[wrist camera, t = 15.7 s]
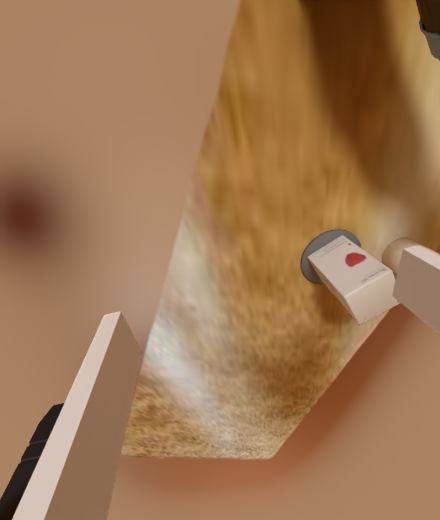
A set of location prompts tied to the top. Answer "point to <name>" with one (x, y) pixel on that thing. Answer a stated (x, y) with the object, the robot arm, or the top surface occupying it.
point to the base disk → (318, 244)
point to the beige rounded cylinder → (398, 252)
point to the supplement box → (355, 278)
